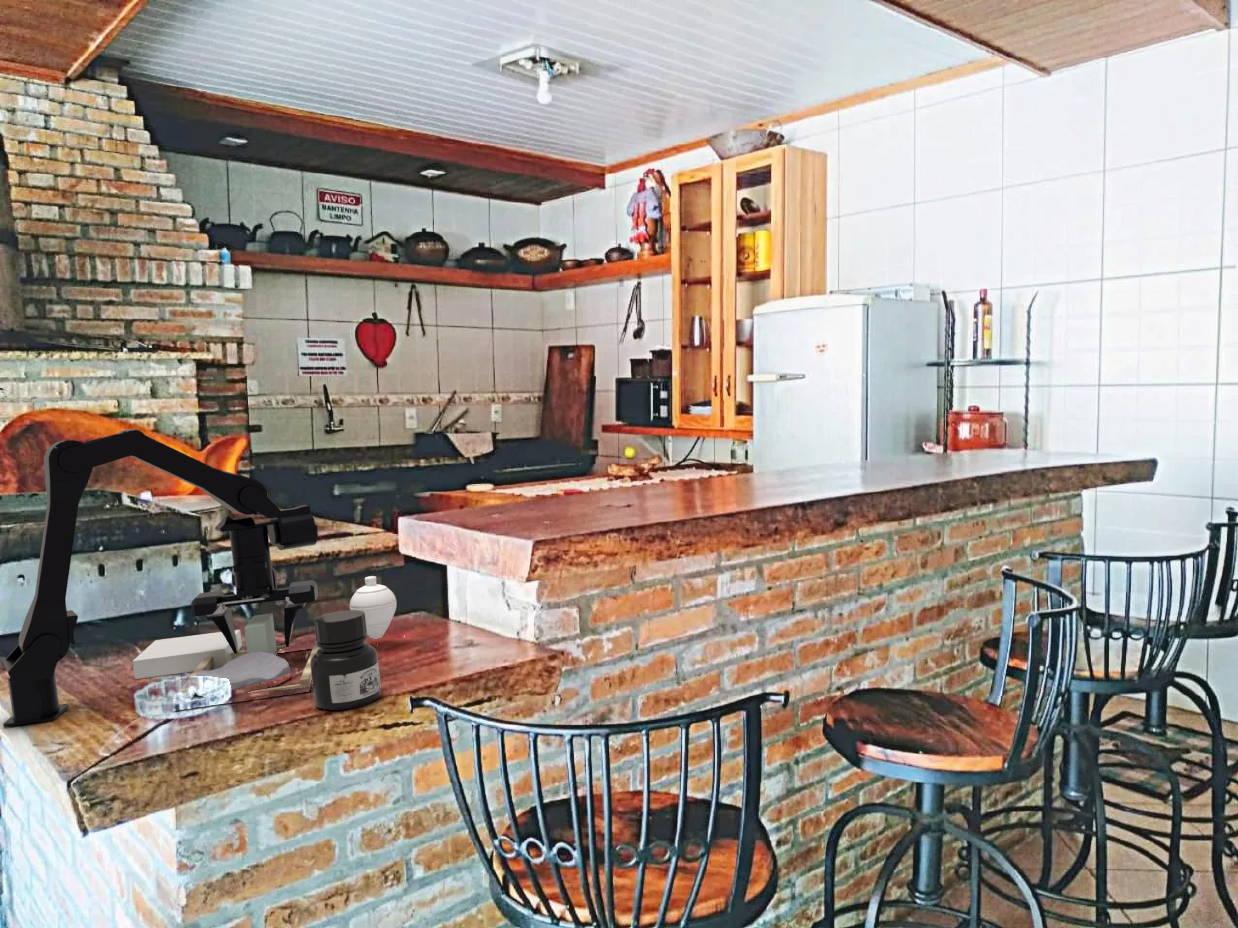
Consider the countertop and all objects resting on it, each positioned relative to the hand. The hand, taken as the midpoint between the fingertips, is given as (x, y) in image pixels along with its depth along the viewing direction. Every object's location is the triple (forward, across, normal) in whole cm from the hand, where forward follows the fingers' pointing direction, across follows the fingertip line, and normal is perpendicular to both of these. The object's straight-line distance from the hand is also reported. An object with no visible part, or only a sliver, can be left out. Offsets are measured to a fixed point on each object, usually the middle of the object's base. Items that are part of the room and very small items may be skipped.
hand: (262, 649), depth 153 cm
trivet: (+2, +13, -9) cm, 16 cm away
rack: (+2, 0, +6) cm, 7 cm away
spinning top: (+3, -18, -2) cm, 18 cm away
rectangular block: (+3, 0, 0) cm, 3 cm away
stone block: (+3, +1, +12) cm, 12 cm away
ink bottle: (+3, -15, +27) cm, 31 cm away
